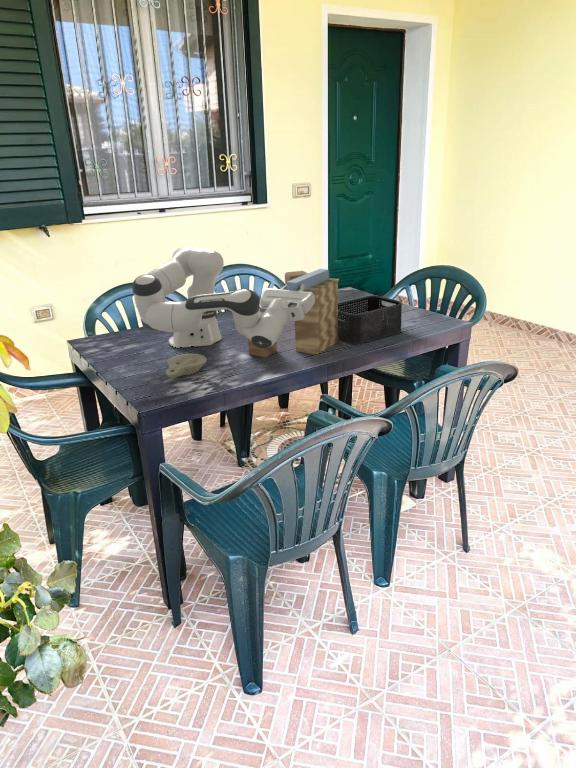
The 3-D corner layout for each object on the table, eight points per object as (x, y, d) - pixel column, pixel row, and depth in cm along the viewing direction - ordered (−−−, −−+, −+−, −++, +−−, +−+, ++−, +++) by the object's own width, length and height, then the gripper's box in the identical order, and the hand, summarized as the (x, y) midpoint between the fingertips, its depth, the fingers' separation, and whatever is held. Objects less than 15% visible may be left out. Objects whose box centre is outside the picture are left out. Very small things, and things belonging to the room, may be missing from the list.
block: (285, 312, 285) (284, 272, 277) (304, 310, 287) (303, 270, 280) (291, 317, 276) (290, 275, 268) (311, 314, 278) (310, 273, 271)
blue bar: (296, 293, 208) (296, 282, 206) (287, 292, 210) (286, 281, 208) (328, 279, 228) (328, 269, 227) (319, 278, 230) (319, 268, 229)
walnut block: (266, 357, 223) (265, 338, 220) (249, 354, 227) (247, 336, 224) (276, 351, 230) (276, 333, 227) (260, 348, 234) (259, 330, 231)
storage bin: (353, 346, 232) (353, 314, 227) (324, 336, 247) (323, 305, 242) (404, 332, 246) (405, 302, 241) (373, 323, 261) (374, 294, 256)
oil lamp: (190, 387, 198) (188, 373, 196) (152, 384, 201) (150, 371, 200) (213, 366, 216) (212, 353, 214) (179, 364, 220) (177, 351, 218)
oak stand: (318, 354, 223) (317, 288, 214) (294, 351, 229) (292, 286, 219) (339, 341, 238) (338, 279, 228) (316, 338, 243) (315, 277, 234)
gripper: (258, 314, 211) (274, 289, 218) (307, 320, 201) (322, 293, 208) (252, 301, 206) (269, 276, 213) (302, 307, 196) (318, 280, 203)
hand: (296, 284), depth 210 cm, fingers closed on blue bar, 4 cm apart
